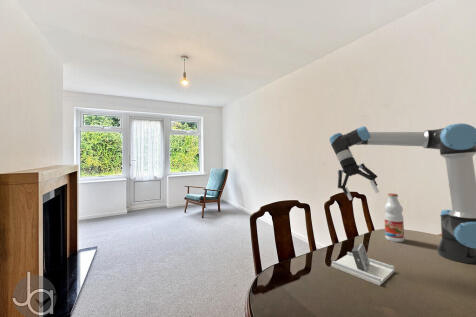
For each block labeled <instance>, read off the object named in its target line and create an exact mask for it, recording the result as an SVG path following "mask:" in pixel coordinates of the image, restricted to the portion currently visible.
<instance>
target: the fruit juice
mask: <svg viewBox="0 0 476 317" xmlns="http://www.w3.org/2000/svg"><path fill="white" fill-rule="evenodd" d="M387 196H388V198H387V201H386V203H385V205H384V211H385V212H384V237H385V239H386V240H388V241H390V242H396V243H403V242H404V241H405V226H404V216H403V211H404V210H403V206H402V205H401V204H400V201H399V198H398V197H399V196H398V193H392V192H391V193H387Z"/></svg>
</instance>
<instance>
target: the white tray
mask: <svg viewBox="0 0 476 317" xmlns="http://www.w3.org/2000/svg"><path fill="white" fill-rule="evenodd" d="M368 259H369V262H370V265H369V267H368V270H367V271H365V270H364V269H357V266H356V263H355V260H354V257H353V254H352V252H350V251H346V255H344V256H342V257H341V258H339V259H337V260H336V261H335V260H331V264H330V267H331V268H334V269H336V270H338V271H342V272H344V273H347V274H348V275H351V276H354V277H356V278H359V279H362V280H364V281H366V282H368V283H371V284H373V285H374V284H375V285H377V286H381V285H382V284H383V283H384V282H385V281H387V279H388V278H390V277H391V276H392V275H393V274H394V273H395V271H396V269H395V266H394V265H391V264H388V263H385V262H382V261H378V260H376V259H372V258H370V257H368ZM358 261H359V260H358Z"/></svg>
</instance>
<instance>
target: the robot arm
mask: <svg viewBox="0 0 476 317" xmlns="http://www.w3.org/2000/svg"><path fill="white" fill-rule="evenodd" d="M329 143H330V145H331V147H332V150H333V151H334V154H335V156H336V157H337V159H338V162H339V164H340V167H341V168H342V169H338V171H337V175H338V176H337V177H338V178H337V179H338V180H337V189H341V190H342V191H343V193H344V195H346V196H347V198H348V200H349V201H352V200H353V196H352V194H351V192H350V191H349V188H348V186H347V183H348V180H349V177H352V176H355V175H359V176H361V177H364V178H365V179H367V180H369V184H370V186H371V187H372V189H373V191H374V193H375V194H378V193H379V192H380V191H379V189H378V187H377V186H378V184H377V181H376V179H377V178H378V175H377V174H375V173H374V172H373V171H372V170H371V169H370V168H368V167H367V166H365V163H364V162H363V163H361V164H359V165H358V164H357V161H356V159H355V157H354V155H353V154H352V153H353V152H352V151H351V149H350V148H351V147H352V146H361V145H364V146H396V147H397V146H399V147H400V146H403V147H422V148H423V149H431V150H432V149H433V150H439V154H440V156H441V157H442V158H444V159H445V165H446V173H447V180H448V186H449V187H448V188H449V194H450V201H451V206H452V207H451V208H452V209H442V210H441V211H440V215H439V216H440V227H441V228H440V229H441V232H440V233H441V239H440V242H439V243H438V246H437V254H439V255H440V256H441V257H443V258H445V259H448V260H452V261H455V262H460V263H465V264H476V172H475V171H476V170H475V165H474V158H473V157H474V156H475V155H476V128H475V127H474V126H473V125H471V124H467V123H453V124H449V125H447V126H446V127H443V128H438V129H437V128H436V129H427V130H424V131H369V130H368V128H367V127H366V126H360V127H358V128H356V129H354V130H352V131H350V132H347V133H345V134H342V132H337V133H334V134H332V135H331V136H330V137H329ZM343 173H344V174H345V176H344V179H343ZM342 181H343V182H342Z"/></svg>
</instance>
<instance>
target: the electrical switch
mask: <svg viewBox="0 0 476 317" xmlns="http://www.w3.org/2000/svg"><path fill="white" fill-rule="evenodd" d="M351 253H352V254H353V257H354V260H355V263H356V266H357V269H364V270H365V271H367V270H368V267H369V265H370V262H369V259H370V258H369V255H368V254H367V250H366V248H365V245H364V243H360V244H359V245H358V244H357V245H354V247H353V248H352V250H351ZM368 258H369V259H368ZM358 260H359V261H358Z"/></svg>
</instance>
